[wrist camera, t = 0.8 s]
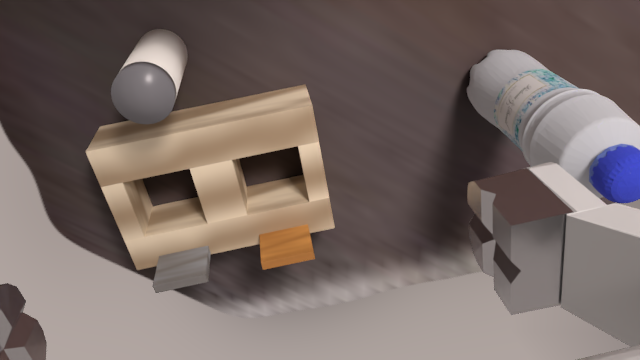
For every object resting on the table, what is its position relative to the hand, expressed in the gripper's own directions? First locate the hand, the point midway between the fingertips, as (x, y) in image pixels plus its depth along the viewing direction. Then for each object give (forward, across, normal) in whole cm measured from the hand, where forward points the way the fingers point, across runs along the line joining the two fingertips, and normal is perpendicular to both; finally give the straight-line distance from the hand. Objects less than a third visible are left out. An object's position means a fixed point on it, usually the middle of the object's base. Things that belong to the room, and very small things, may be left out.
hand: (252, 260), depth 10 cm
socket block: (+37, +6, +15) cm, 40 cm away
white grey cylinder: (+36, +8, +4) cm, 38 cm away
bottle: (+37, -20, +12) cm, 44 cm away
